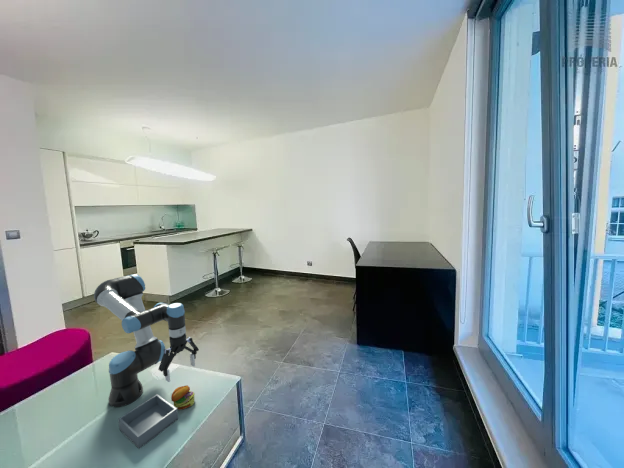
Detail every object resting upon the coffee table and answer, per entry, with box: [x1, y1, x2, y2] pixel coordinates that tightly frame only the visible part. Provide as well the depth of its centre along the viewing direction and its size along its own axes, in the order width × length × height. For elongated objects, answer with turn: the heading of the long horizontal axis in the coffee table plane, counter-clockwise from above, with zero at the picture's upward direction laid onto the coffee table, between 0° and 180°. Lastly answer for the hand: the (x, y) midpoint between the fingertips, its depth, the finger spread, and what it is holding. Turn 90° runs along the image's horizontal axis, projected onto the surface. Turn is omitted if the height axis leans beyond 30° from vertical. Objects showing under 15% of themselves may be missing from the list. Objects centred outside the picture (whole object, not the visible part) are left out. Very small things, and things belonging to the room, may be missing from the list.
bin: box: [117, 393, 179, 450], centre depth 125 cm, size 18×18×6 cm
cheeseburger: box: [170, 385, 195, 411], centre depth 137 cm, size 10×11×10 cm
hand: (180, 372), depth 135 cm, fingers open, 13 cm apart
